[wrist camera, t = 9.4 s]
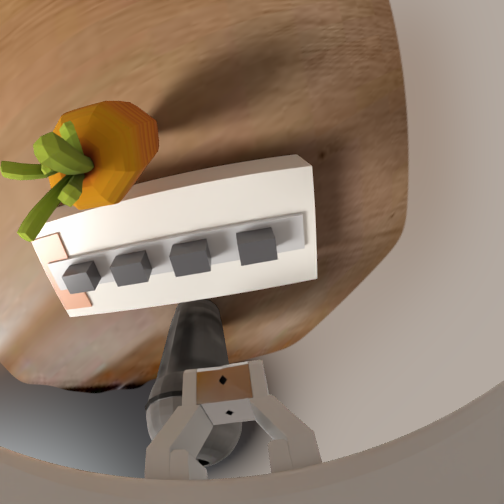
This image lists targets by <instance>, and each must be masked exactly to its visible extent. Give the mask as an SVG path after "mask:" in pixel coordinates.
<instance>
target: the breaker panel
mask: <svg viewBox="0 0 504 504" xmlns="http://www.w3.org/2000/svg"><path fill="white" fill-rule="evenodd" d="M31 242H32V244H33V246H34V249H35V251H36V253H37V255H38V257H39V260H40V262H41V264H42V266H43V268H44V270H45V272H46V274H47V276H48V278H49V280H50V282H51V284H52V286H53V288H54V289H55V291H56V293H57V295H58V297H59V299H60V300H61V302H62V304H63V306H64V307H65V309H66V311H67V312H68V314H69V316H70V317H74V316H83V315H92V314H100V313H109V312H117V311H124V310H132V309H139V308H147V307H154V306H161V305H168V304H175V303H181V302H188V301H194V300H201V299H207V298H213V297H219V296H225V295H231V294H237V293H243V292H249V291H254V290H260V289H266V288H271V287H276V286H282V285H287V284H292V283H298V282H303V281H308V280H313V279H317V246H316V221H315V202H314V186H313V172H312V165H310V164H309V163H308V162H306V161H305V160H304V159H302V158H301V157H300V156H299V155H297V154H295V155H287V156H279V157H272V158H265V159H258V160H252V161H246V162H240V163H234V164H228V165H222V166H217V167H212V168H206V169H201V170H196V171H191V172H187V173H182V174H177V175H173V176H168V177H164V178H159V179H155V180H151V181H147V182H143V183H139V184H135V185H133V186H132V188H131V189H130V190H129V192H128V193H127V194H126V195H125V197H124V198H123V199H122V201H121V202H119V203H118V204H114V205H107V206H101V207H95V208H89V209H84V210H78V209H77V208H76V207H74V206H73V205H72V207H69V206H67V205H63V206H60V207H57V208H56V209H55V210H54V212H53V213H52V214H51V216H50V217H49V219H48V220H47V222H46V223H45V225H44V226H43V228H42V230H41V231H40V233H39V234H38V236H37V237H36V239H35V240H34V241H31Z"/></svg>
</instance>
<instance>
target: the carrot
mask: <svg viewBox="0 0 504 504" xmlns="http://www.w3.org/2000/svg"><path fill="white" fill-rule="evenodd" d="M33 148H34V154H35V156H36V157H37V159H38V161H39V162H40V164H23V163H16V162H9V161H1V168H0V169H1V173H2V175H3V177H5V178H9V179H16V180H32V179H41V178H47V177H49V181H50V186H51V190H50V191H49V192H48V193H47V194H46V195H45V196H44V197H43V198H42V199H41V200H40V201H39V202H38V203H37V204H36V205H35V206H34V208H33V209H32V210H31V211H30V212H29V214H28V215H27V217H26V218H25V219H24V221H23V222H22V224H21V226H20V228H19V230H18V232H17V233H18V234H19V236H20V237H21V238H23V239H24V240H26V241H29V242H31V241H34V240H35V239H36V237H37V236H38V234H39V233H40V231H41V230H42V228H43V226H44V225H45V223H46V222H47V220H48V219H49V217H50V216H51V214H52V213H53V212H54V210H55V209H56V207H57V206H58V205H59V203H60V202H62V203H63V204H65V205H67V206H69V207H72V205H73V206H74V207H76V208H77V209H78V210H84V209H89V208H95V207H101V206H107V205H114V204H118V203H119V202H121V201H122V199H123V198H124V197H125V195H126V194H127V193H128V192H129V190H130V189H131V188H132V186H133V185H134V184H135V182H136V181H137V179H138V178H139V176H140V175H141V174H142V172H143V171H144V169H145V168H146V167H147V165H148V164H149V163H150V161H151V160H152V158H153V157H154V156H155V154H156V153H157V152H158V148H159V137H158V129H157V121H156V120H155V119H153V118H152V117H151V116H149V115H148V114H147V113H145V112H144V111H142V110H141V109H140V108H138V107H137V106H135V105H134V104H132V103H130V102H123V101H103V102H100V103H96V104H92V105H89V106H85V107H82V108H79V109H75V110H72V111H69V112H66V113H64V114H63V115H62V116H61V117H60V119H59V121H58V123H57V125H56V127H55V129H54V130H53V132H50V133H48V134H45V135H43V136H41V137H40V138H39V139H38V140H37V141H36V142H35V143H34V144H33Z"/></svg>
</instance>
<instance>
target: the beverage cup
mask: <svg viewBox="0 0 504 504" xmlns="http://www.w3.org/2000/svg"><path fill="white" fill-rule="evenodd" d="M223 365H229V362H228V356H227V350H226V344H225V338H224V332H223V326H222V322H221V319H220V313H219V309H218V308H217V306H216V305H215V304H214V303H212V302H211V301H209V300H206V299H201V300H194V301H188V302H181V303H180V304H179V305H178V306H177V308H176V311H175V314H174V317H173V319H172V322H171V325H170V329H169V333H168V336H167V340H166V344H165V348H164V351H163V355H162V359H161V363H160V367H159V371H158V375H157V379H156V383H155V384H154V386H153V388H152V391H151V393H150V396H149V399H148V402H147V404H146V405H145V410H146V419H147V426H148V431H149V435H150V437H151V439H152V441H153V439H154V438H155V437H156V435H157V434H158V433H159V431H160V430H161V429H162V427H163V426H164V425H165V423H166V422H167V421H168V419H169V418H170V417H171V415H172V414H173V413H174V411H175V410H176V409H177V407H178V406H182V391H183V374H184V371H185V370H190V369H200V368H210V367H219V366H223ZM241 430H242V422H234V423H227V424H219V425H213V428H212V430H211V432H210V434H209V435H208V437H207V439H206V441H205V442H204V444H203V446H202V448H201V450H200V451H199V453H198V455H197V457H196V458H195V459H196V460H197V461H198V462H199V463H200V464H201V465H202V466H203V467H206V466H210V465H214V464H216V463H218V462H219V461H221V460H223V459H224V458H225V457H227V456H228V455H229V454H230V453H231V452H232V450H233V449H234V447H235V446H236V444H237V442H238V440H239V437H240V434H241Z"/></svg>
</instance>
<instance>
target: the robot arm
mask: <svg viewBox="0 0 504 504" xmlns="http://www.w3.org/2000/svg"><path fill="white" fill-rule="evenodd" d="M252 420H256V421H257V422H258V424H259V425H260V426H261V427H262V428H263V429H264V430H265V431H266V432H267V433H268V435H269V436H270V437H271V438H272V439H273V441H270V442H269V443H268V445H267V446H268V452H269V459H270V466H271V473H270V474H263V475H255V476H247V477H237V478H225V479H211V480H210V479H207V470H206V469H205V468H204V467H203V466H202V465H201V464H200V463H199V462H198V461H197V460H196V459H195V458H196V457H197V455H198V453H199V451H200V450H201V448H202V446H203V444H204V442H205V441H206V439H207V437H208V435H209V434H210V432H211V430H212V428H213V425H219V424H227V423H234V422H243V421H252ZM0 504H504V381H502V382H501V383H499V384H498V385H496V386H495V387H493V388H492V389H491V390H489V391H488V392H486V393H485V394H483V395H481V396H480V397H478V398H476V399H475V400H473V401H472V402H470V403H468V404H467V405H465V406H463V407H461V408H459V409H458V410H456V411H454V412H452V413H451V414H449V415H447V416H445V417H443V418H441V419H439V420H437V421H435V422H433V423H431V424H429V425H427V426H425V427H423V428H420V429H418V430H416V431H414V432H411V433H409V434H407V435H404V436H402V437H400V438H397V439H395V440H393V441H390V442H387V443H384V444H382V445H379V446H376V447H373V448H371V449H368V450H365V451H362V452H359V453H355V454H352V455H349V456H346V457H342V458H339V459H335V460H331V461H328V462H324V463H322V461H321V457H320V453H319V449H318V445H317V441H316V438H315V434H314V431H313V430H311V429H310V428H309V427H308V426H307V425H306V424H305V423H303V422H302V421H301V420H300V419H299V418H298V417H296V416H295V415H294V414H293V413H292V412H291V411H290V410H289V409H287V408H286V407H285V406H284V405H283V404H282V403H281V402H280V401H279V400H278V399H276V398H275V397H274V396H273V395H269V393H268V387H267V382H266V377H265V372H264V367H263V362H262V360H255V361H250V362H248V361H247V362H242V363H236V364H230V365H223V366H219V367H210V368H200V369H190V370H185V371H184V374H183V391H182V406H178V407H177V409H176V410H175V411H174V413H173V414H172V415H171V417H170V418H169V419H168V421H167V422H166V423H165V425H164V426H163V427H162V429H161V430H160V431H159V433H158V434H157V435H156V437H155V438H154V439H153V441H152V442H151V443H150V445H149V446H148V447H147V449H146V463H145V479H143V478H132V477H122V476H115V475H107V474H101V473H95V472H89V471H84V470H79V469H74V468H69V467H65V466H61V465H57V464H53V463H49V462H46V461H42V460H39V459H35V458H32V457H29V456H26V455H23V454H20V453H17V452H14V451H11V450H9V449H6V448H4V447H1V446H0Z"/></svg>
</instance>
